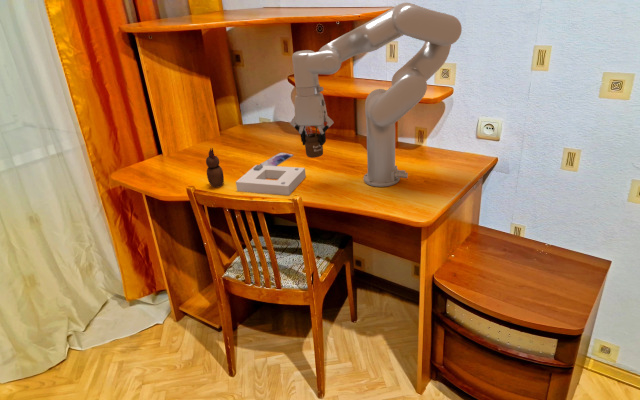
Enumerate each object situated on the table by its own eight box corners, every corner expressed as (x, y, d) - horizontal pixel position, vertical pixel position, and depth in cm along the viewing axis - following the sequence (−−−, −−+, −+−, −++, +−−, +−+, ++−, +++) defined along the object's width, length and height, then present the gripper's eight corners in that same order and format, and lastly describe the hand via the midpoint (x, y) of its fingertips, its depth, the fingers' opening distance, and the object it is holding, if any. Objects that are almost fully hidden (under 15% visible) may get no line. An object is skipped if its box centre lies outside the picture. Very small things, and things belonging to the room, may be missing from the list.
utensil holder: (302, 156, 155) (298, 122, 150) (313, 150, 160) (310, 117, 154) (316, 159, 152) (312, 124, 147) (327, 152, 156) (323, 119, 151)
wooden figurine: (226, 187, 164) (218, 148, 158) (209, 190, 163) (202, 151, 156) (224, 180, 170) (217, 142, 164) (208, 183, 169) (200, 145, 162)
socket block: (305, 176, 168) (304, 166, 166) (289, 195, 154) (287, 183, 152) (257, 173, 174) (255, 162, 172) (237, 190, 161) (235, 179, 159)
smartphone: (294, 154, 189) (272, 167, 178) (294, 156, 189) (273, 169, 178) (280, 152, 192) (258, 164, 181) (280, 153, 193) (258, 166, 182)
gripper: (336, 87, 146) (341, 140, 154) (288, 88, 152) (294, 140, 160) (329, 93, 140) (334, 148, 148) (278, 94, 146) (286, 147, 154)
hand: (313, 143), depth 154 cm, fingers closed on utensil holder, 5 cm apart
